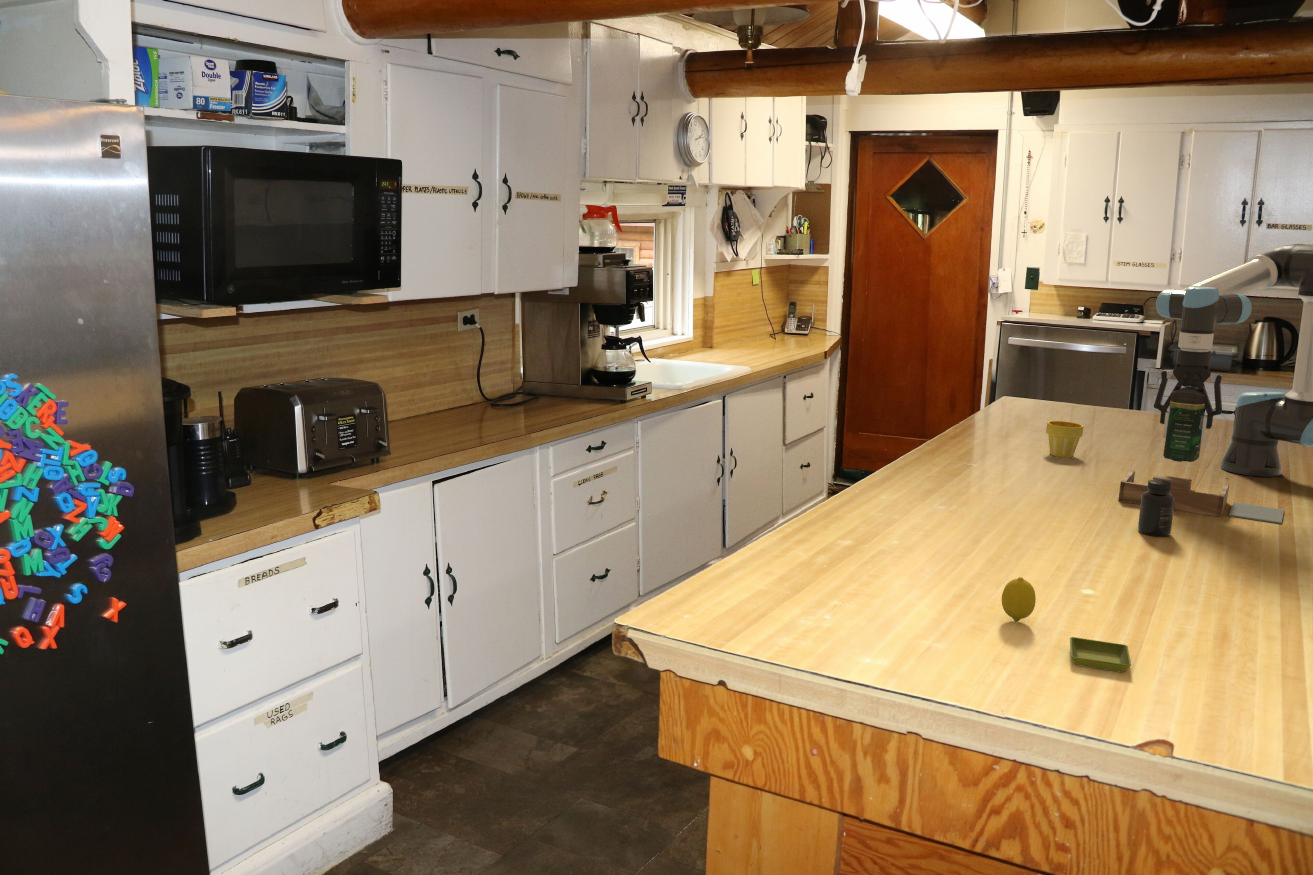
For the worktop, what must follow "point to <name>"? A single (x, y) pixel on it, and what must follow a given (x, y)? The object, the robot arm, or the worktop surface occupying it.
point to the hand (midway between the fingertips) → (1183, 438)
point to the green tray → (1099, 654)
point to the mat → (1257, 513)
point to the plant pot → (1063, 437)
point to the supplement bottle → (1156, 509)
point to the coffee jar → (1185, 425)
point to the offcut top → (1175, 482)
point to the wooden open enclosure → (1177, 497)
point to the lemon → (1018, 599)
